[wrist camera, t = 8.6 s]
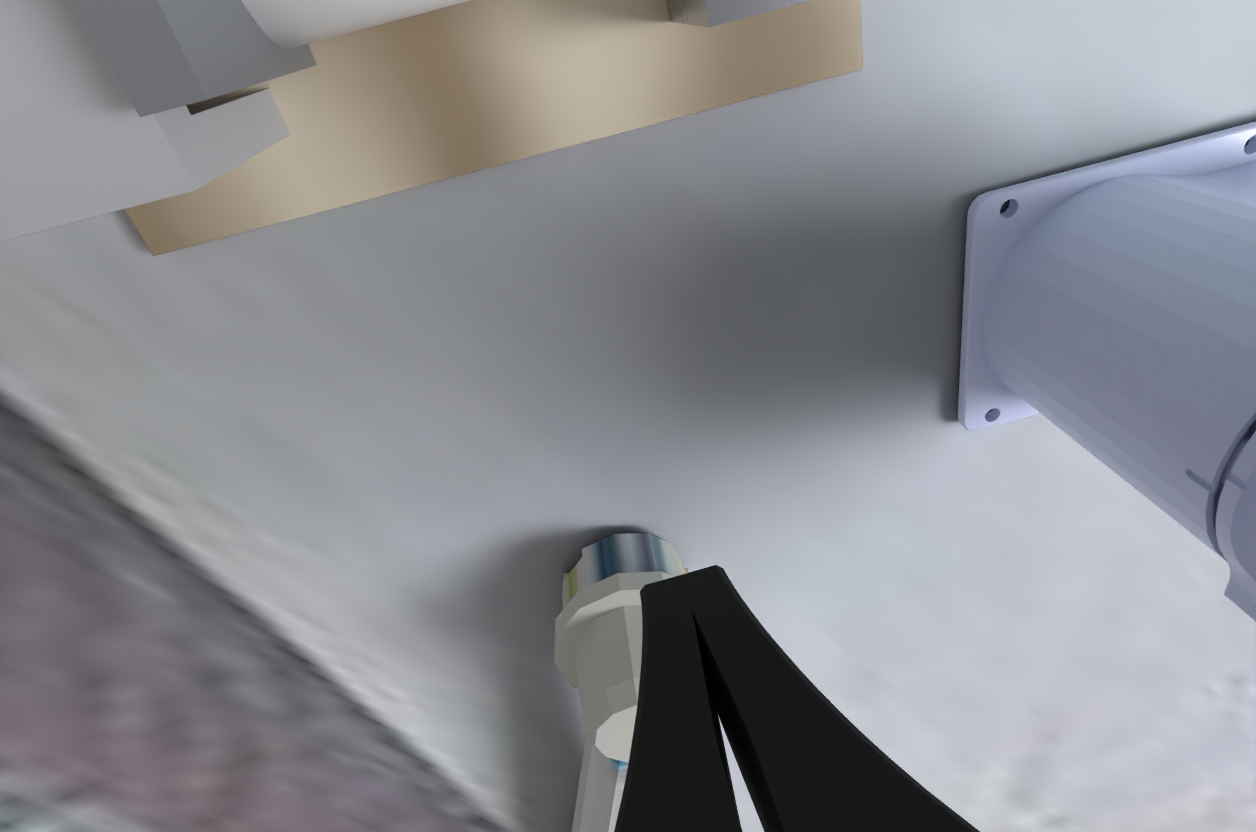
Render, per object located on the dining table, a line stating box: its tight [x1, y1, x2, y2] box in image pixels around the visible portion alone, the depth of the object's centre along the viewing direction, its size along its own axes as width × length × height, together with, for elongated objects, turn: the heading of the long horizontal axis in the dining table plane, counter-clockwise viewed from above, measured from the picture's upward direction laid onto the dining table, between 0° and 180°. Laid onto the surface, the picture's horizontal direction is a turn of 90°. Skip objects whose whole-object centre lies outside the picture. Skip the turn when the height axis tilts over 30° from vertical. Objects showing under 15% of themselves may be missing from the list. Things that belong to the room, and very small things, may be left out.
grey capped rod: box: [554, 533, 688, 832], centre depth 28 cm, size 5×7×25 cm
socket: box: [0, 0, 291, 242], centre depth 12 cm, size 4×6×6 cm
